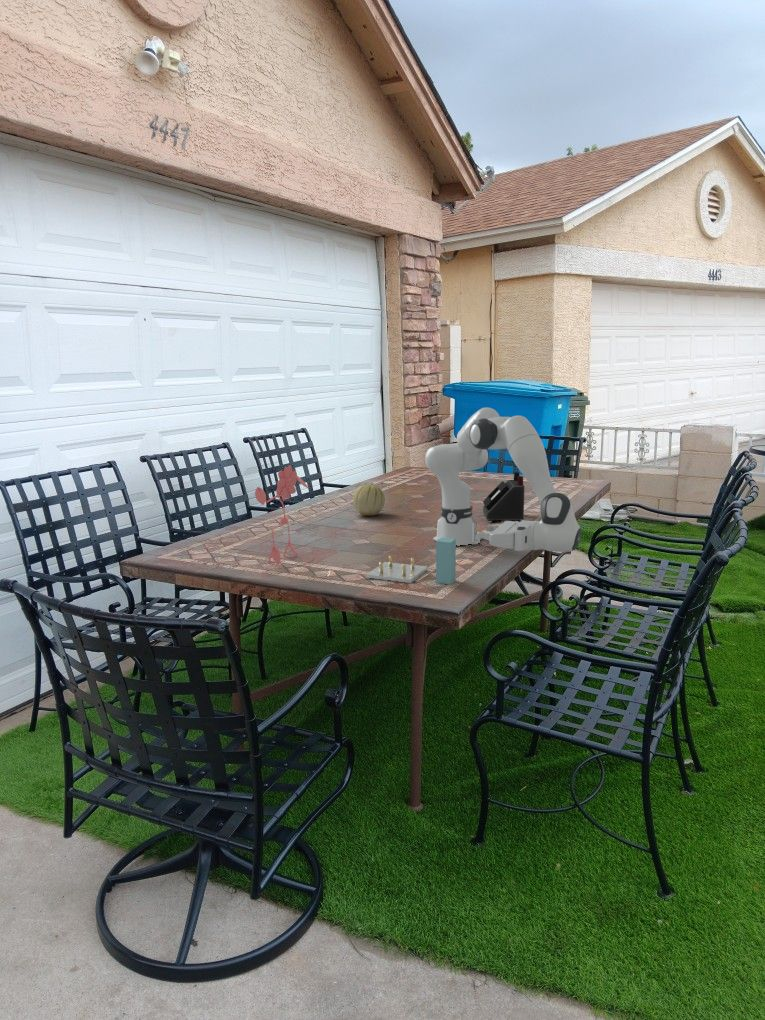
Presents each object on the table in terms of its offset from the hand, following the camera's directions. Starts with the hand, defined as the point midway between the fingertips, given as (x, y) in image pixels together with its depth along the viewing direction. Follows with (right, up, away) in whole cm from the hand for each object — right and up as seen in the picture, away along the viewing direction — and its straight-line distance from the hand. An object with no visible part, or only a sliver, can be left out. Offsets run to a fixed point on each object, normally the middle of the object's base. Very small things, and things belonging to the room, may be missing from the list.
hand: (482, 531), depth 231 cm
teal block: (-11, -17, +9) cm, 22 cm away
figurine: (-65, -12, +35) cm, 75 cm away
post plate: (-27, -15, +17) cm, 35 cm away
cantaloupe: (-38, +4, +106) cm, 113 cm away
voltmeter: (+22, +3, +96) cm, 98 cm away
